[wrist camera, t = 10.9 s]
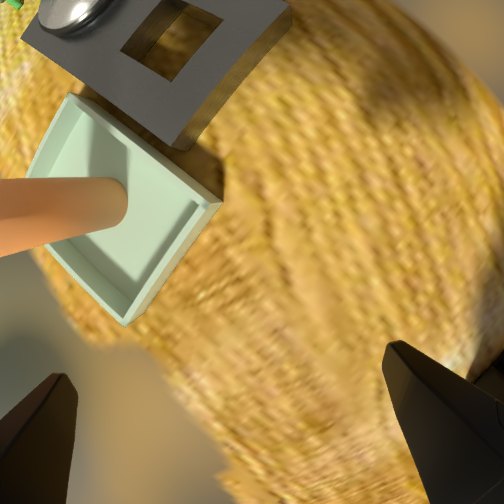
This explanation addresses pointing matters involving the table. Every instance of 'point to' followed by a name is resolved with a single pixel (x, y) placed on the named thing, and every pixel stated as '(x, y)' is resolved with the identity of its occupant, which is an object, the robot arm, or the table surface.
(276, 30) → the plate
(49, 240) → the pin
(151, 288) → the tray
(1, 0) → the gear
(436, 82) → the table surface
